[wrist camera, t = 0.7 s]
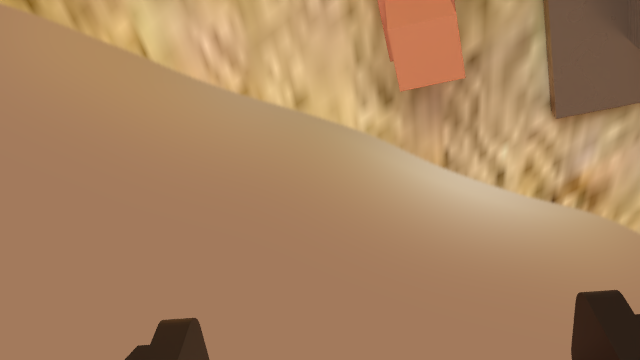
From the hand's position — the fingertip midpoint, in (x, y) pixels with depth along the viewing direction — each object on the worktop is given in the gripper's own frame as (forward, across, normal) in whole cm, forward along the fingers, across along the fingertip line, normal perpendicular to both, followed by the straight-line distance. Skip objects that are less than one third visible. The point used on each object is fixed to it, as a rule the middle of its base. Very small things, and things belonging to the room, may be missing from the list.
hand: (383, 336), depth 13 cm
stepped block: (+20, -3, -3) cm, 21 cm away
